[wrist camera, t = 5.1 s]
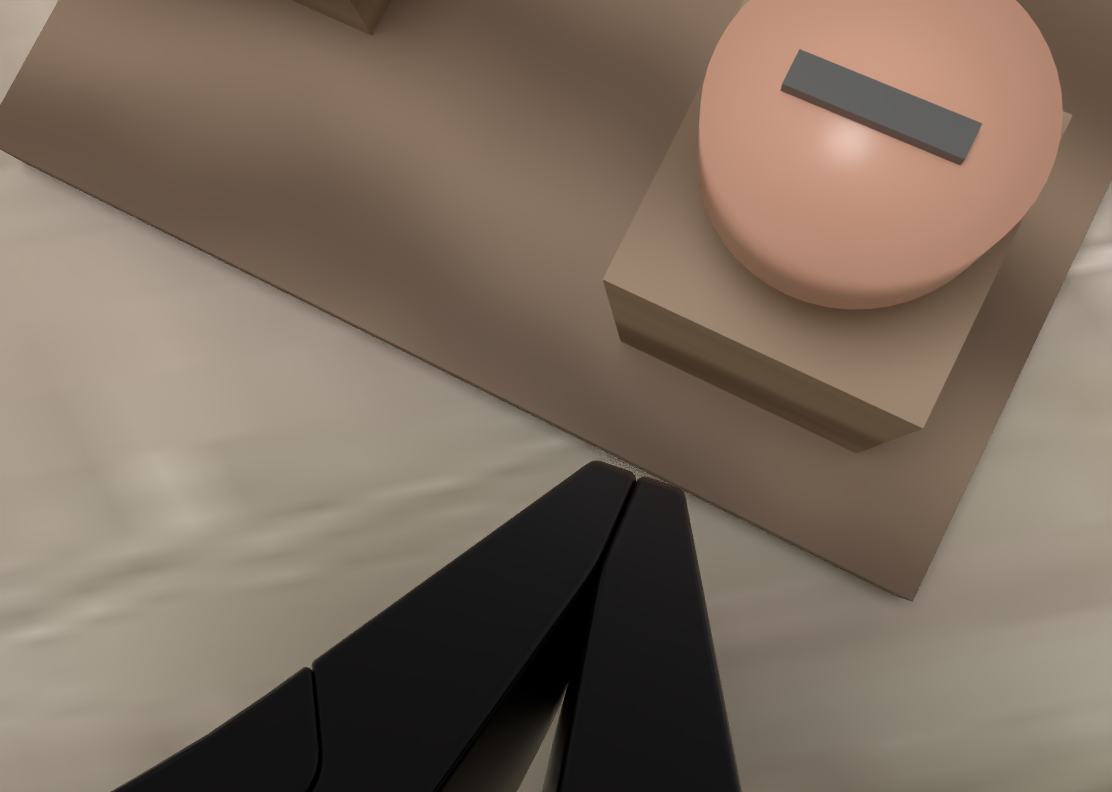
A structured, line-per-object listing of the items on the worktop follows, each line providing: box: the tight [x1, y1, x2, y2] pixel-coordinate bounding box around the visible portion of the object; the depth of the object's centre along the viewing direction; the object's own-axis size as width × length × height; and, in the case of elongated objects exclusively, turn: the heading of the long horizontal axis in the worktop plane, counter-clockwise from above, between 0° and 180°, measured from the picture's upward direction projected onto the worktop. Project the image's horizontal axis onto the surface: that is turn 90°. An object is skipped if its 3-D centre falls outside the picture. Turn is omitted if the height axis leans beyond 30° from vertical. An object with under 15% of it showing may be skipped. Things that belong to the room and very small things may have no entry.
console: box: [0, 0, 1112, 601], centre depth 20 cm, size 14×24×7 cm, turn 63°
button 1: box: [697, 0, 1063, 309], centre depth 13 cm, size 4×4×2 cm
